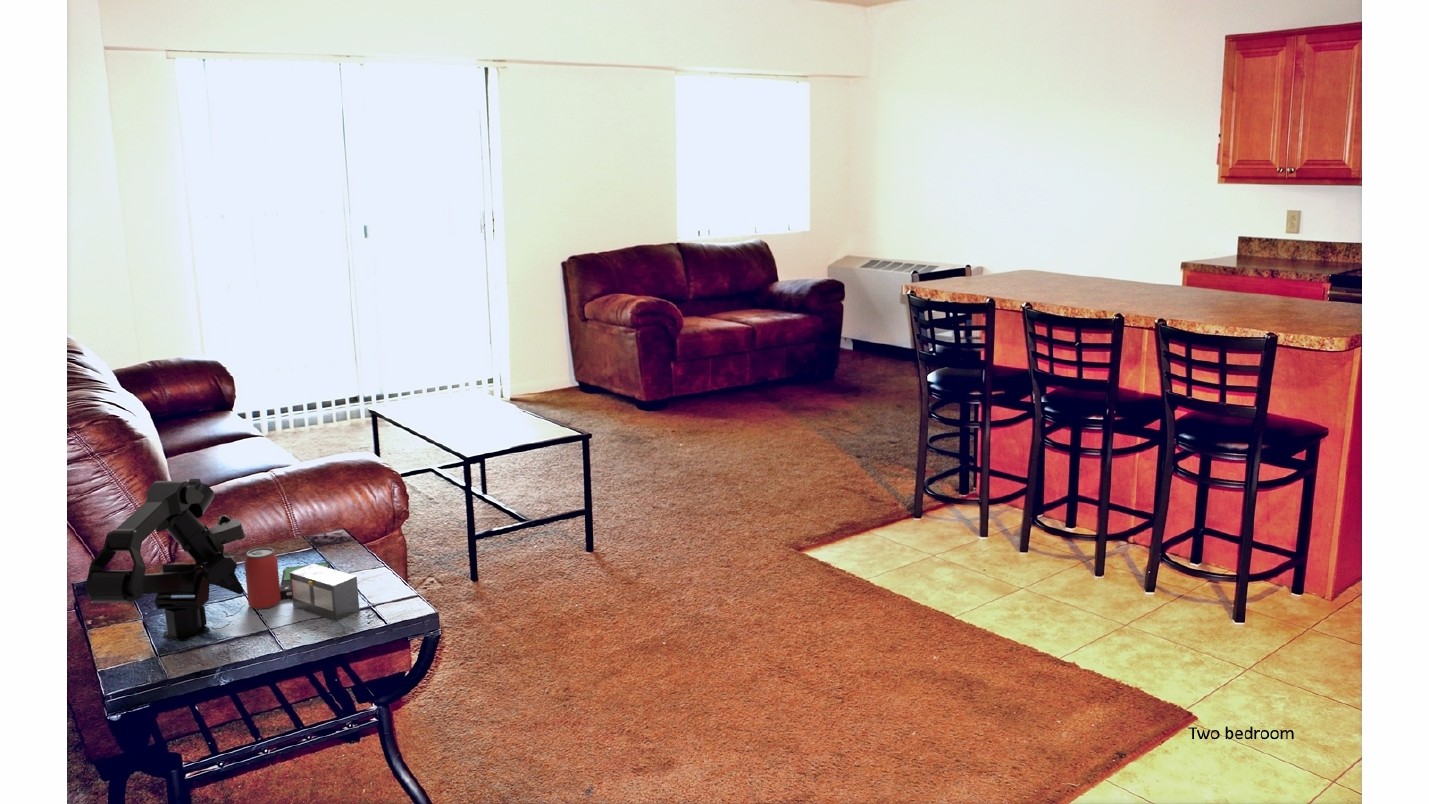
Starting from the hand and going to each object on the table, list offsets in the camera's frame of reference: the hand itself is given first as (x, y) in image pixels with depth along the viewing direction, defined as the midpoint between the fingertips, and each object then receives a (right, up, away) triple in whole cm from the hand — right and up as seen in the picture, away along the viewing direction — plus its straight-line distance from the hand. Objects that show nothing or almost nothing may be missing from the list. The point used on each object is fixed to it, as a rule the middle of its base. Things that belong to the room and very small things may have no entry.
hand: (237, 585), depth 225 cm
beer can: (+3, -6, +7) cm, 10 cm away
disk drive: (+8, -4, +18) cm, 20 cm away
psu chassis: (+17, -6, +5) cm, 19 cm away
